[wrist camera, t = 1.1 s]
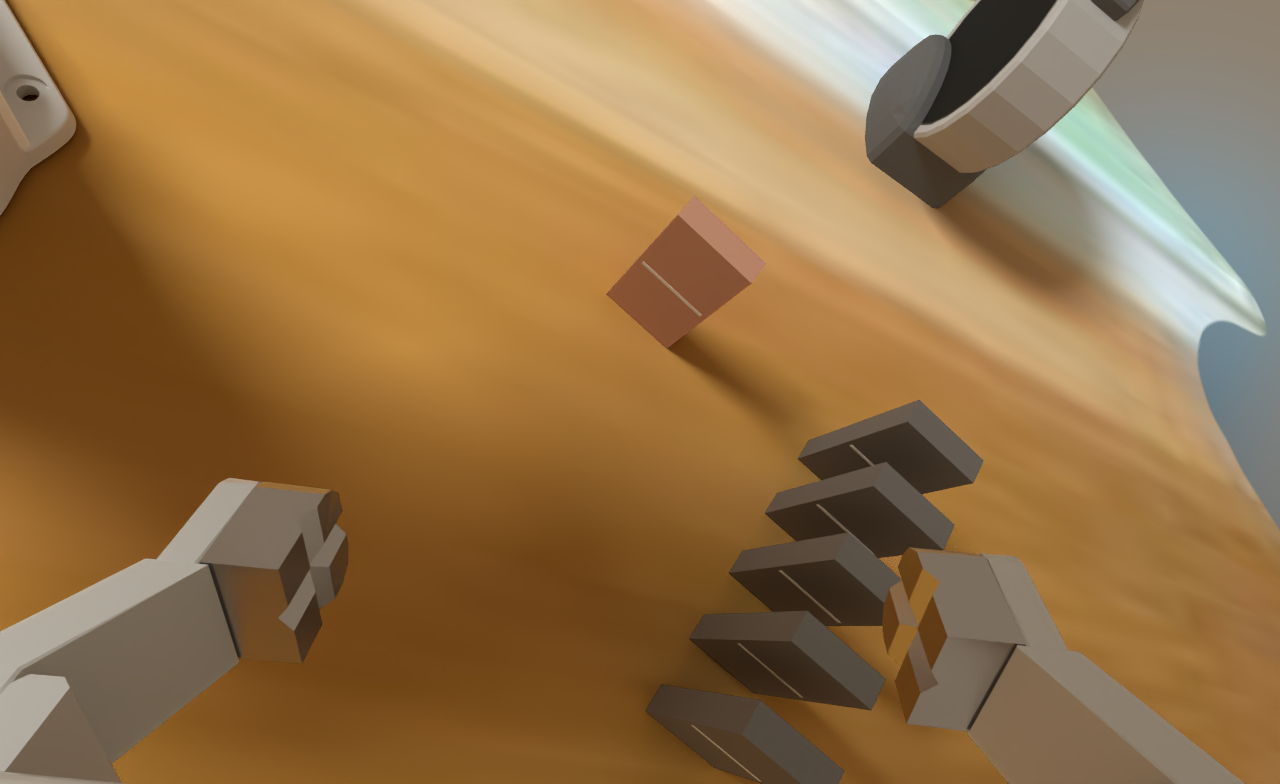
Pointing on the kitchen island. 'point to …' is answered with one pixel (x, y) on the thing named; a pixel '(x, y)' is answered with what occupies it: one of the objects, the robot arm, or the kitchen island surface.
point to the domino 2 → (897, 449)
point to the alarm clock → (989, 88)
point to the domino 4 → (819, 579)
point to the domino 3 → (863, 512)
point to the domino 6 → (742, 737)
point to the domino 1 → (686, 274)
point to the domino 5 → (789, 657)
